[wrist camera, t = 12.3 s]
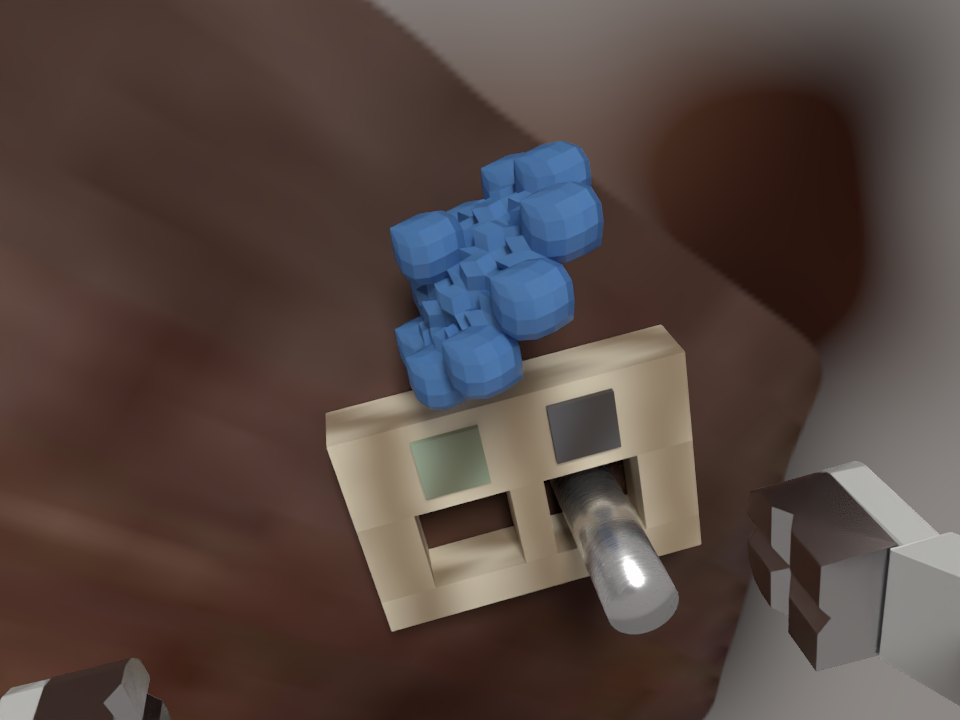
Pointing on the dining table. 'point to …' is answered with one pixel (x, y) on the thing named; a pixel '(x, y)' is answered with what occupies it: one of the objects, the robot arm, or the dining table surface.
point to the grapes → (494, 273)
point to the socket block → (516, 472)
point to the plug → (616, 551)
